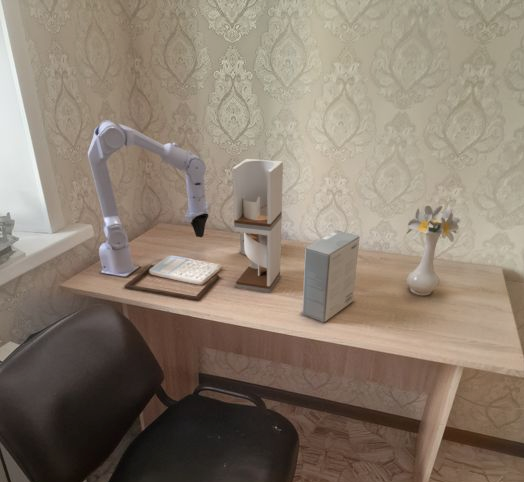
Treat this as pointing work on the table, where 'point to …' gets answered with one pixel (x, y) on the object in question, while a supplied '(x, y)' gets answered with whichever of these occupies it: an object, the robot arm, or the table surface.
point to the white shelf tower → (259, 220)
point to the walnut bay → (172, 294)
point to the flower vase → (430, 246)
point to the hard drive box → (329, 275)
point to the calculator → (185, 269)
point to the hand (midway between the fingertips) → (199, 236)
